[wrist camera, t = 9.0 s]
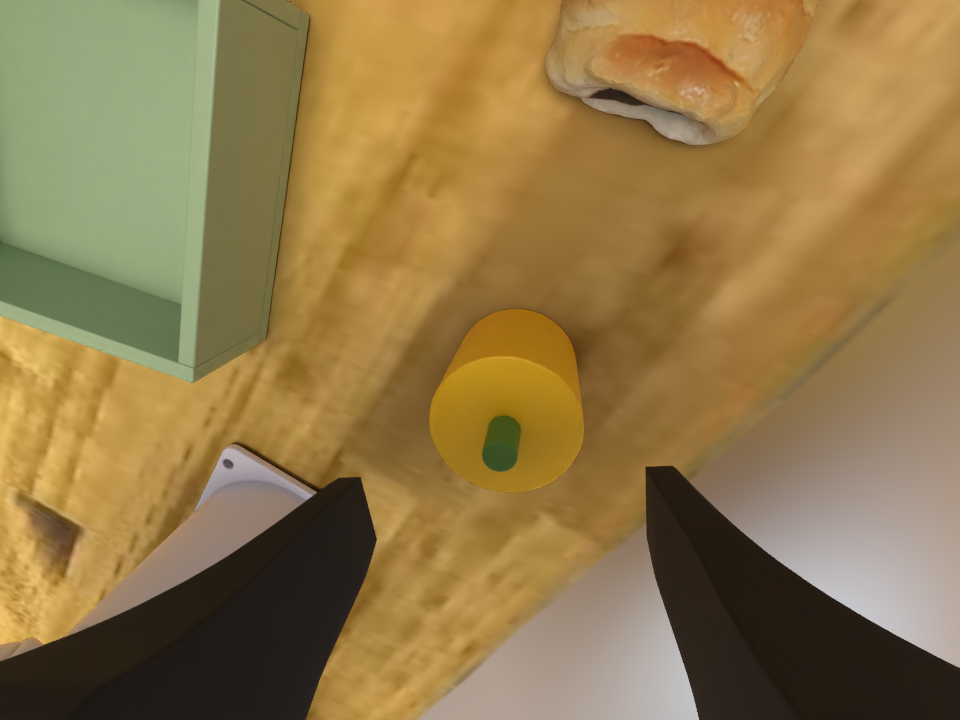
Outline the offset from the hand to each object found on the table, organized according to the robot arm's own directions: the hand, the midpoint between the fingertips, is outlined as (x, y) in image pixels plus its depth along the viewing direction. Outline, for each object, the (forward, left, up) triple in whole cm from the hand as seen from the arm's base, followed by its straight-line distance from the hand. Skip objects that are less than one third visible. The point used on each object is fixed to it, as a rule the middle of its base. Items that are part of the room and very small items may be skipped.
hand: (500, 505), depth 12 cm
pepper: (0, 0, -8) cm, 8 cm away
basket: (-1, +17, -8) cm, 19 cm away
